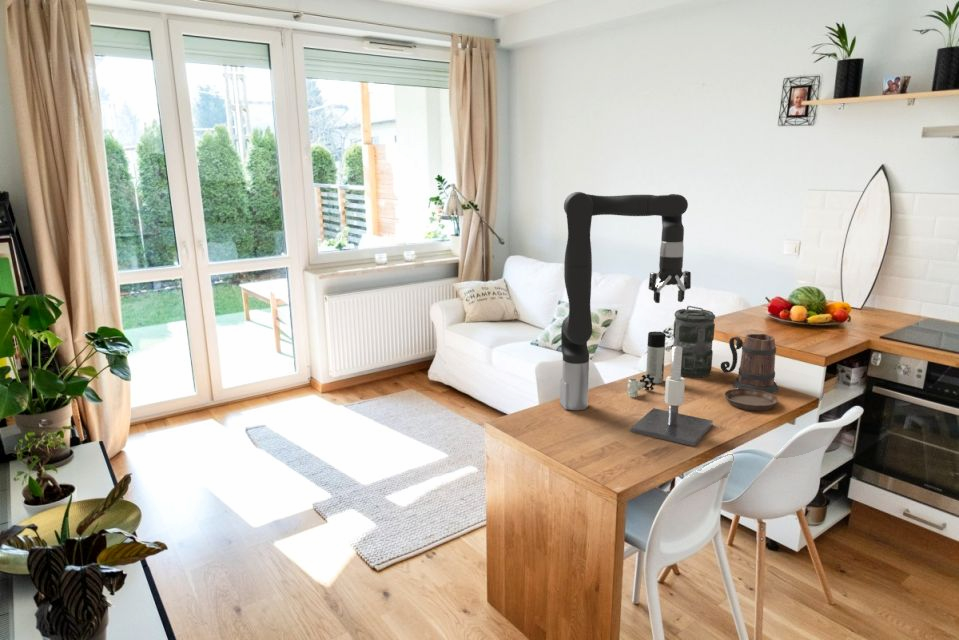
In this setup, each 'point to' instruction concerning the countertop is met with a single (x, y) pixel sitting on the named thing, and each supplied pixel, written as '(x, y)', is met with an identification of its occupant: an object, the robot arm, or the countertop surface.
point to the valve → (639, 385)
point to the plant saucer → (751, 399)
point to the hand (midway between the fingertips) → (668, 302)
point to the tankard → (754, 362)
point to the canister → (694, 340)
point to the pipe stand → (673, 416)
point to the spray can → (655, 356)
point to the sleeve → (674, 391)
